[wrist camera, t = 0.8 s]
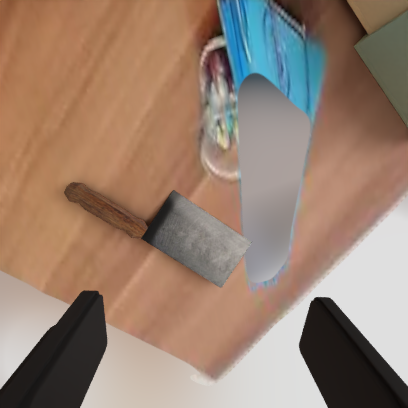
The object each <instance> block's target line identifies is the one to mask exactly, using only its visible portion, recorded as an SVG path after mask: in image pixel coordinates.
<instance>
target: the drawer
mask: <svg viewBox="0 0 408 408" xmlns="http://www.w3.org/2000/svg"><path fill="white" fill-rule="evenodd" d="M347 2H348V3H349V5H350V6H351V8H352V9H353V11H354V13H355V14H356V16H357V17H358V19H359V20H360V22H361V24H362V25H363V27H364V28H365V30H366V31H367V33H368V35H370V34H371V33H373V32H374V31H376V30H377V29H379V28H381V27H382V26H384V25H385V24H387V23H388V22H390V21H391V20H393V19H394V18H396V17H397V16H399V15H401V14H402V13H404V12H405V11H407V10H408V0H347Z"/></svg>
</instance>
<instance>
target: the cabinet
mask: <svg viewBox="0 0 408 408" xmlns="http://www.w3.org/2000/svg"><path fill="white" fill-rule="evenodd" d="M354 48H355V49H356V51H357V52H358V54H359V55H360V57H361V58H362V60H363V61H364V63H365V64H366V66H367V67H368V69H369V70H370V72H371V73H372V75H373V76H374V78H375V79H376V81H377V82H378V84H379V85H380V87H381V88H382V90H383V91H384V93H385V94H386V96H387V97H388V99H389V100H390V102H391V103H392V105H393V106H394V108H395V109H396V111H397V112H398V114H399V115H400V117H401V119H402V120H403V122H404V123H405V125H406V126H407V128H408V10H407V11H405V12H404V13H402V14H401V15H399V16H397V17H396V18H394V19H393V20H391V21H390V22H388V23H387V24H385V25H384V26H382V27H381V28H379V29H377V30H376V31H374V32H373V33H371V34H370V35H368V33H367V34H366V35H365V36H364V37H363V38H362V39H361V40H360V41H359V42H358V43H357V44H356V45H355V46H354Z"/></svg>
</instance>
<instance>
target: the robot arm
mask: <svg viewBox="0 0 408 408" xmlns="http://www.w3.org/2000/svg"><path fill="white" fill-rule="evenodd" d="M106 347H107V333H106V323H105V313H104V304H103V296H102V295H99V292H98V291H82V292H81V293H80V294H79V296H78V297H77V298H76V299H75V301H74V302H73V303H72V305H71V306H70V307H69V308H68V310H67V311H66V312H65V314H64V315H63V316H62V318H61V319H60V320H59V321H58V323H57V324H56V325H55V326H53V327H51V328H50V329H49V330H48V331H47V332H46V333H45V334H44V336H43V337H42V338H41V339H40V341H39V342H38V343H37V344H36V346H35V347H34V348H33V349H32V351H31V352H30V353H29V355H28V356H27V357H26V358H25V359H24V361H23V362H22V363H21V364H20V366H19V367H18V368H17V369H16V371H15V372H14V373H13V374H12V376H11V377H10V378H9V379H8V381H7V382H6V383H5V384H4V386H3V387H2V388H1V389H0V408H80V406H81V404H82V402H83V400H84V397H85V395H86V393H87V390H88V388H89V386H90V384H91V381H92V379H93V377H94V375H95V372H96V370H97V368H98V366H99V364H100V361H101V359H102V357H103V355H104V352H105V350H106ZM299 348H300V352H301V354H302V356H303V358H304V360H305V362H306V364H307V366H308V368H309V370H310V372H311V374H312V376H313V378H314V380H315V382H316V384H317V386H318V388H319V390H320V392H321V394H322V396H323V398H324V400H325V403H326V405H327V407H328V408H408V386H407V385H406V384H405V383H404V382H403V380H402V379H401V378H400V377H399V376H398V375H397V373H396V372H395V371H394V370H393V369H392V368H391V367H390V365H389V364H388V363H387V362H386V361H385V360H384V359H383V357H382V356H381V355H380V354H379V353H378V352H377V351H376V349H375V348H374V347H373V346H372V345H371V344H370V343H369V341H368V340H367V339H366V338H365V337H364V336H363V334H362V333H361V332H360V331H359V330H358V329H357V328H356V327H355V325H354V324H353V323H352V322H351V321H350V320H349V318H348V317H347V316H346V315H345V314H344V313H343V312H342V310H341V309H340V308H339V307H338V306H337V305H336V303H335V302H334V301H333V300H332V299H331V298H327V297H316V298H314V300H313V301H311V303H310V307H309V311H308V314H307V318H306V322H305V325H304V328H303V332H302V336H301V339H300V343H299Z"/></svg>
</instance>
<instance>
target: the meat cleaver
mask: <svg viewBox="0 0 408 408" xmlns="http://www.w3.org/2000/svg"><path fill="white" fill-rule="evenodd" d="M64 194H65V195H66V197H67V198H68V200H69V201H71V202H75V203H79V204H80V205H81V206H82V207H83V208H84V209H85V210H87V211H89V212H90V213H92V214H94V215H96V216H97V217H99V218H101V219H102V220H104V221H106V222H107V223H109V224H111V225H113V226H114V227H116V228H118V229H121V230H123V231H125V232H126V233H127V234H128V235H129V236H130V237H131V238H141V239H143V240H144V241H146V242H147V243H149V244H151V245H152V246H154V247H156V248H157V249H159V250H160V251H162V252H164V253H165V254H167V255H168V256H170V257H172V258H173V259H175V260H177V261H178V262H180V263H181V264H183V265H185V266H186V267H188V268H190V269H191V270H193V271H194V272H196V273H198V274H199V275H201V276H202V277H204V278H206V279H207V280H209V281H211V282H212V283H214V284H215V285H217V286H219V287H222V286H223V285H224V283H225V282H226V280H227V279H228V277H229V276H230V274H231V273H232V271H233V270H234V268H235V267H236V265H237V264H238V262H239V261H240V259H241V258H242V256H243V255H244V253H245V252H246V250H247V249H248V247H249V246H250V244H251V243H252V242H250V241H249V240H247V239H246V238H244V237H243V236H241V235H240V234H238V233H237V232H235V231H234V230H232V229H231V228H230V227H228V226H227V225H225V224H224V223H222V222H221V221H219V220H218V219H216V218H215V217H213V216H212V215H210V214H209V213H207V212H206V211H204V210H203V209H201V208H200V207H198V206H197V205H195V204H194V203H192V202H191V201H189V200H188V199H186V198H185V197H183V196H182V195H180V194H179V193H177V192H176V191H174V190H173V191H172V193H171V194H170V196H169V197H168V199H167V200H166V202H165V203H164V205H163V206H162V208H161V209H160V211H159V212H158V214H157V215H156V217H155V218H154V220H153V221H152V222H151V224H150V225H149V227H148V226H147V225H146V223H145V222H144V220H142V219H139V218H135V217H134V216H133V215H131V214H130V213H129V212H128V211H126V210H125V209H123V208H121V207H120V206H118V205H116V204H115V203H113V202H111V201H110V200H108V199H106V198H105V197H103V196H102V195H100V194H98V193H96V192H93V191H90V190H89V189H88V188H87V187H86V186H85V185H84V184H83V183H75V182H73V183H71V184H69V185H68V186H67V187H66V189H65V191H64Z"/></svg>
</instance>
